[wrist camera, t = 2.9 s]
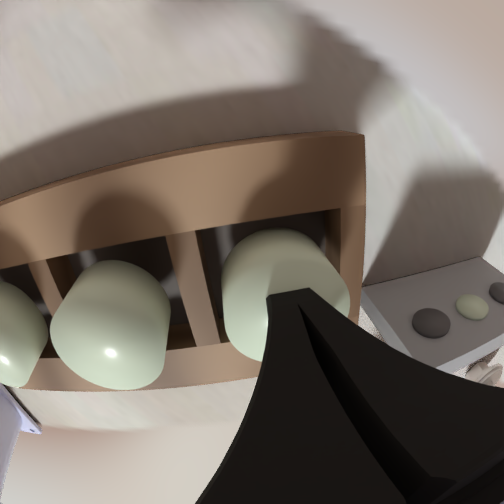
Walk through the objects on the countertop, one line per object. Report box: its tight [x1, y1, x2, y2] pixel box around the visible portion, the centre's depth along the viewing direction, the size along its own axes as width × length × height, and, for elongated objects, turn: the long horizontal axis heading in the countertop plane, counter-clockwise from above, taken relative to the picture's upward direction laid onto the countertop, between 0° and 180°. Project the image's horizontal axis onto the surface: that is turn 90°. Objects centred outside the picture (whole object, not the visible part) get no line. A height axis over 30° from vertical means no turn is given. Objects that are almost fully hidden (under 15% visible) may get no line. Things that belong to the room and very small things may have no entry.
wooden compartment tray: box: [0, 131, 366, 392], centre depth 12 cm, size 19×10×2 cm, turn 97°
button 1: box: [221, 228, 350, 362], centre depth 10 cm, size 4×4×2 cm
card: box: [360, 257, 504, 374], centre depth 12 cm, size 9×1×6 cm, turn 97°
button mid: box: [50, 260, 171, 390], centre depth 10 cm, size 4×4×2 cm
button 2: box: [0, 281, 48, 387], centre depth 9 cm, size 4×4×2 cm
